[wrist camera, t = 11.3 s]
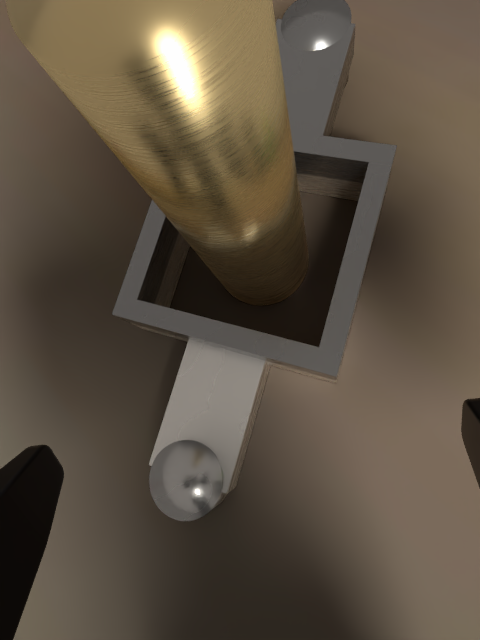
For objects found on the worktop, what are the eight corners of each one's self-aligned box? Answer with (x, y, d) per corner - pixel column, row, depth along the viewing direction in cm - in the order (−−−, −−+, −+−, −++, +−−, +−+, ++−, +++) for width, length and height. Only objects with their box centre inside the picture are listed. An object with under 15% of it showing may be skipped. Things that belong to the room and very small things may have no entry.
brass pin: (317, 293, 18) (286, 14, 5) (226, 314, 18) (9, 106, 6) (298, 209, 19) (234, -191, 6) (211, 231, 19) (1, -94, 7)
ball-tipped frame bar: (292, 550, 16) (284, 579, 13) (96, 472, 18) (52, 483, 15) (419, 60, 19) (435, -3, 16) (240, 45, 21) (226, -13, 19)
